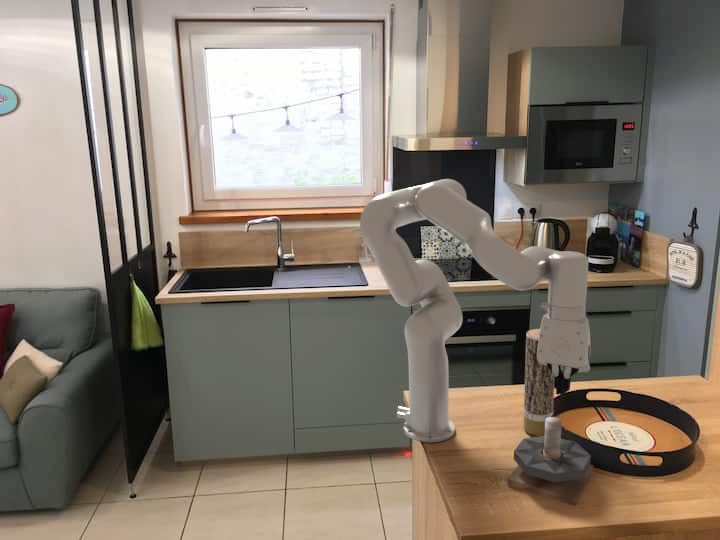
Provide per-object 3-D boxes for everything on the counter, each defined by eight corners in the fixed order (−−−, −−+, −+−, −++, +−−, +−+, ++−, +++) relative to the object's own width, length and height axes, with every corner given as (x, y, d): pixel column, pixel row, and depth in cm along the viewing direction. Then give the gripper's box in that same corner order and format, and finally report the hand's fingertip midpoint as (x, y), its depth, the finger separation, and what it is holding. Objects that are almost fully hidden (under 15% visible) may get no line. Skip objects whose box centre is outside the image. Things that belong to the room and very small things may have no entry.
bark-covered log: (547, 423, 160) (550, 328, 154) (556, 436, 153) (560, 338, 147) (520, 424, 159) (522, 329, 153) (528, 438, 153) (531, 339, 147)
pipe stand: (507, 485, 134) (508, 426, 131) (529, 454, 145) (531, 400, 142) (575, 505, 127) (578, 443, 123) (593, 471, 138) (596, 414, 135)
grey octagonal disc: (506, 468, 133) (506, 460, 133) (529, 438, 145) (529, 430, 144) (577, 488, 125) (577, 479, 125) (595, 455, 137) (595, 446, 137)
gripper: (525, 310, 134) (521, 391, 138) (599, 322, 126) (593, 407, 130) (536, 301, 140) (533, 379, 144) (608, 311, 132) (602, 393, 136)
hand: (561, 392), depth 137 cm, fingers closed
